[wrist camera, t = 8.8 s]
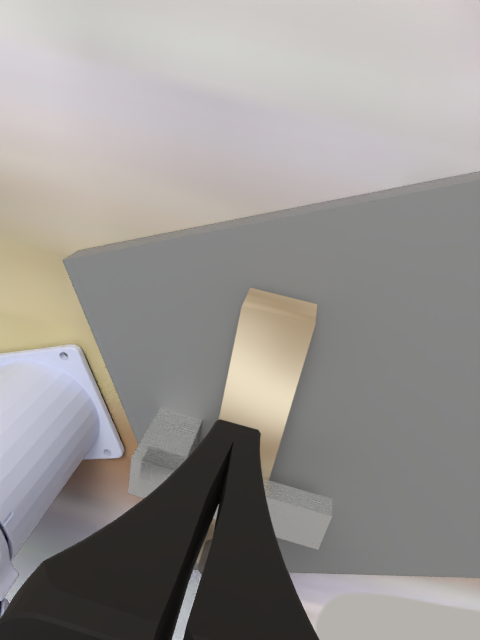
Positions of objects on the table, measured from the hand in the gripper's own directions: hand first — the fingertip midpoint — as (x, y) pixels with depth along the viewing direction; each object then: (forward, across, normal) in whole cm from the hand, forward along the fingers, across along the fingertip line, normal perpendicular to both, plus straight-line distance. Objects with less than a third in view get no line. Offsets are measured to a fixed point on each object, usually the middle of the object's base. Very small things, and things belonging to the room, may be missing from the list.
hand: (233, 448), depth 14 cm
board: (+9, -4, +5) cm, 11 cm away
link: (+8, 0, +6) cm, 10 cm away
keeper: (+8, 0, +8) cm, 11 cm away
